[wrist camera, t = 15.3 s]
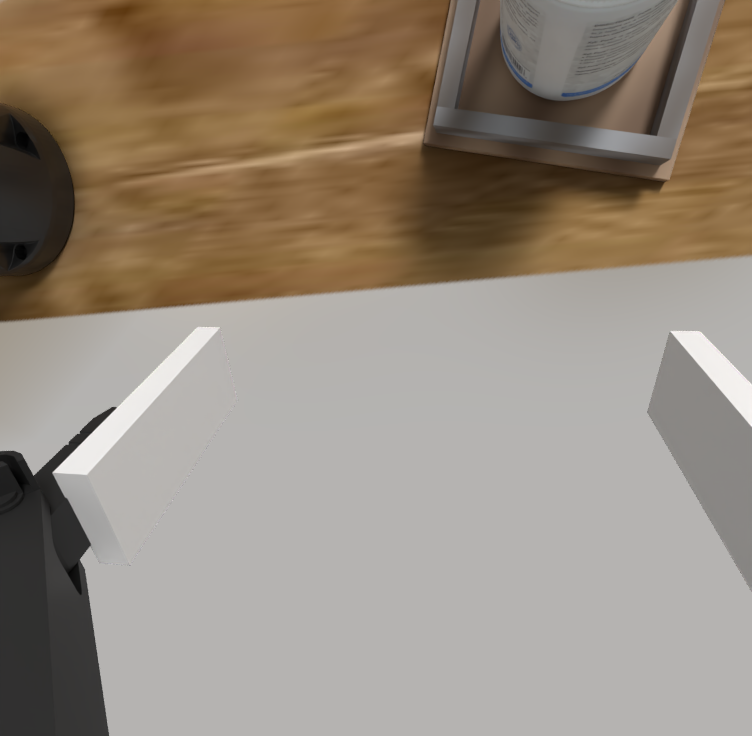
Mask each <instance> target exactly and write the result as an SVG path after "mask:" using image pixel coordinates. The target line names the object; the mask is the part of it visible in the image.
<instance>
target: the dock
mask: <svg viewBox="0 0 752 736" xmlns="http://www.w3.org/2000/svg"><path fill="white" fill-rule="evenodd" d="M724 2H725V0H678V1H677V3H676V5H675V6H674V8H673V9H672V11H671V12H670V14H669V15H668V17H667V18H666V20H665V21H664V23H663V24H662V26H661V27H660V29H659V30H658V32H657V33H656V35H655V36H654V38H653V39H652V41H651V42H650V44H649V45H648V47H647V48H646V50H645V51H644V53H643V54H642V55H641V57H640V58H639V60H638V61H637V62H636V64H635V65H634V66H633V67H632V68H631V69H630V70H629V72H628V73H626V74H625V75H624V76H623V77H622V78H621V79H620V80H619V81H617V82H616V83H615V84H613V85H612V86H610V87H609V88H607V89H605V90H603V91H601V92H600V93H597V94H595V95H592V96H589V97H586V98H582V99H577V100H569V101H555V100H550V99H545V98H542V97H540V96H537V95H535V94H533V93H531V92H530V91H528V90H527V89H525V88H524V87H523V86H522V85H521V84H520V83H519V82H518V81H517V80H516V79H515V78H514V76H513V75H512V74H511V72H510V70H509V68H508V67H507V64H506V62H505V60H504V57H503V53H502V48H501V39H500V0H451V3H450V8H449V13H448V19H447V24H446V29H445V34H444V39H443V44H442V49H441V55H440V60H439V65H438V70H437V75H436V80H435V85H434V91H433V96H432V101H431V106H430V111H429V116H428V121H427V127H426V132H425V137H424V142H423V143H424V145H425V146H432V147H438V148H445V149H452V150H458V151H465V152H471V153H478V154H485V155H491V156H498V157H504V158H511V159H518V160H524V161H531V162H537V163H544V164H551V165H557V166H564V167H571V168H577V169H584V170H590V171H597V172H604V173H610V174H617V175H623V176H630V177H637V178H643V179H650V180H656V181H663V182H666V181H668V180H669V179H670V176H671V173H672V169H673V166H674V163H675V160H676V157H677V153H678V150H679V147H680V144H681V140H682V137H683V134H684V131H685V128H686V124H687V121H688V118H689V115H690V111H691V108H692V105H693V102H694V99H695V95H696V92H697V89H698V86H699V82H700V79H701V76H702V73H703V70H704V66H705V63H706V60H707V57H708V54H709V50H710V47H711V44H712V41H713V37H714V34H715V31H716V28H717V25H718V21H719V18H720V15H721V12H722V8H723V5H724Z"/></svg>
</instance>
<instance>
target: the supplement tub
mask: <svg viewBox="0 0 752 736" xmlns="http://www.w3.org/2000/svg"><path fill="white" fill-rule="evenodd" d="M677 1H678V0H500V39H501V48H502V53H503V57H504V60H505V62H506V64H507V67H508V68H509V70H510V72H511V74H512V75H513V76H514V78H515V79H516V80H517V81H518V82H519V83H520V84H521V85H522V86H523V87H524V88H525V89H527V90H528V91H530V92H531V93H533V94H535V95H537V96H540V97H542V98H545V99H550V100H555V101H569V100H577V99H582V98H586V97H589V96H592V95H595V94H597V93H600V92H601V91H603V90H605V89H607V88H609V87H610V86H612V85H613V84H615V83H616V82H617V81H619V80H620V79H621V78H622V77H623V76H624V75H625V74H626V73H628V72H629V70H630V69H631V68H632V67H633V66H634V65H635V64H636V62H637V61H638V60H639V58H640V57H641V55H642V54H643V53H644V51H645V50H646V48H647V47H648V45H649V44H650V42H651V41H652V39H653V38H654V36H655V35H656V33H657V32H658V30H659V29H660V27H661V26H662V24H663V23H664V21H665V20H666V18H667V17H668V15H669V14H670V12H671V11H672V9H673V8H674V6H675V5H676V3H677Z"/></svg>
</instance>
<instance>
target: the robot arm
mask: <svg viewBox="0 0 752 736" xmlns="http://www.w3.org/2000/svg"><path fill="white" fill-rule="evenodd" d="M73 210H74V195H73V186H72V180H71V176H70V172H69V169H68V166H67V163H66V160H65V158H64V156H63V154H62V152H61V150H60V148H59V146H58V144H57V143H56V141H55V140H54V138H53V137H52V136H51V134H50V133H49V132H48V131H47V130H46V128H45V127H44V126H43V125H42V124H41V123H39V122H38V121H37V120H36V119H35V118H33V117H32V116H30V115H29V114H27V113H26V112H24V111H22V110H19V109H17V108H14V107H11V106H8V105H5V104H2V103H0V276H20V275H27V274H31V273H34V272H37V271H39V270H41V269H42V268H44V267H46V266H47V265H48V264H49V263H50V262H52V261H53V260H54V259H55V257H56V256H57V255H58V254H59V252H60V251H61V249H62V248H63V246H64V244H65V242H66V240H67V237H68V235H69V232H70V228H71V224H72V219H73ZM237 401H238V398H237V394H236V390H235V386H234V382H233V378H232V374H231V369H230V365H229V361H228V357H227V352H226V348H225V344H224V340H223V336H222V332H221V328H220V327H197V328H196V329H195V330H194V331H193V332H192V333H191V334H190V335H189V336H188V337H187V338H186V339H185V340H184V341H183V342H182V343H181V344H180V345H179V346H178V347H177V348H176V349H175V350H174V351H173V352H172V353H171V354H170V355H169V356H168V357H167V358H166V359H165V360H164V361H163V362H162V363H161V364H160V365H159V366H158V367H157V368H156V369H155V370H154V371H153V372H152V373H151V374H150V375H149V376H148V377H147V378H146V379H145V380H144V381H143V382H142V383H141V384H140V385H139V387H137V388H136V389H135V390H134V391H133V392H132V393H131V394H130V395H129V396H128V398H126V399H125V400H124V401H123V402H122V403H121V404H120V405H119V406H118V407H112V408H110V409H109V410H107V411H105V412H103V413H102V414H100V415H98V416H97V417H95V418H93V419H92V420H91V421H90V422H89V423H88V424H87V425H86V426H85V427H84V428H83V429H82V430H81V431H80V434H77V435H76V436H75V437H74V438H73V439H71V440H70V441H69V445H65V446H64V447H63V448H62V449H61V450H60V451H59V452H58V453H57V454H56V455H55V456H54V457H53V458H52V459H51V460H50V461H49V462H48V463H47V464H46V465H45V466H44V467H42V469H40V470H39V472H37V473H36V474H35V475H34V476H33V474H32V472H31V470H30V469H29V467H28V465H27V463H26V461H25V459H24V458H23V456H22V454H21V453H18V452H15V451H0V736H109V732H108V726H107V719H106V712H105V705H104V698H103V691H102V684H101V677H100V670H99V663H98V657H97V650H96V643H95V636H94V630H93V623H92V615H91V609H90V602H89V595H88V588H87V582H86V574H85V569H84V567H83V565H82V563H81V562H80V558H81V557H82V556H83V554H84V553H85V552H86V550H87V549H88V548H89V546H91V548H92V550H93V552H94V554H95V556H96V558H97V560H98V562H99V563H104V564H116V565H129V566H130V565H131V563H132V562H133V560H134V559H135V557H136V556H137V554H138V553H139V551H140V550H141V548H142V547H143V545H144V543H145V542H146V540H147V539H148V537H149V536H150V534H151V533H152V531H153V530H154V528H155V527H156V525H157V523H158V522H159V520H160V519H161V517H162V516H163V514H164V513H165V511H166V510H167V508H168V506H169V505H170V504H171V502H172V500H173V499H174V497H175V496H176V494H177V493H178V491H179V490H180V488H181V487H182V485H183V483H184V482H185V480H186V479H187V477H188V476H189V474H190V473H191V471H192V470H193V468H194V467H195V465H196V464H197V462H198V460H199V459H200V457H201V456H202V454H203V453H204V451H205V450H206V448H207V447H208V445H209V444H210V442H211V440H212V439H213V437H214V436H215V434H216V433H217V431H218V429H219V428H220V427H221V425H222V424H223V422H224V421H225V419H226V417H227V416H228V414H229V413H230V411H231V410H232V408H233V407H234V405H235V404H236V402H237ZM647 413H648V414H649V416H650V418H651V419H652V421H653V423H654V425H655V426H656V428H657V430H658V431H659V433H660V435H661V436H662V438H663V440H664V442H665V444H666V445H667V446H668V449H669V450H670V452H671V454H672V456H673V457H674V459H675V461H676V462H677V464H678V466H679V468H680V469H681V471H682V473H683V474H684V476H685V478H686V479H687V481H688V483H689V485H690V487H691V488H692V490H693V492H694V493H695V495H696V497H697V499H698V500H699V502H700V504H701V505H702V507H703V509H704V510H705V512H706V514H707V516H708V517H709V519H710V521H711V523H712V524H713V526H714V528H715V529H716V531H717V533H718V535H719V536H720V538H721V540H722V541H723V543H724V545H725V547H726V548H727V550H728V552H729V554H730V555H731V557H732V559H733V560H734V562H735V564H736V566H737V567H738V569H739V571H740V573H741V574H742V576H743V578H744V579H745V581H746V583H747V585H748V586H749V588H750V590H751V591H752V384H750V382H749V381H748V380H747V379H746V378H745V377H744V376H743V375H742V374H741V373H740V372H739V371H738V370H737V369H736V368H735V367H734V366H733V365H732V364H731V363H730V362H729V361H728V360H727V359H726V358H725V357H724V356H723V355H722V354H721V352H720V351H719V350H718V349H717V348H716V347H715V346H714V345H713V344H712V343H711V342H710V341H709V340H708V339H707V338H706V337H705V336H704V335H703V334H702V333H701V332H700V331H670V333H669V336H668V340H667V343H666V347H665V350H664V354H663V358H662V361H661V365H660V368H659V372H658V376H657V379H656V383H655V386H654V390H653V393H652V397H651V401H650V404H649V408H648V411H647Z"/></svg>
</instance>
